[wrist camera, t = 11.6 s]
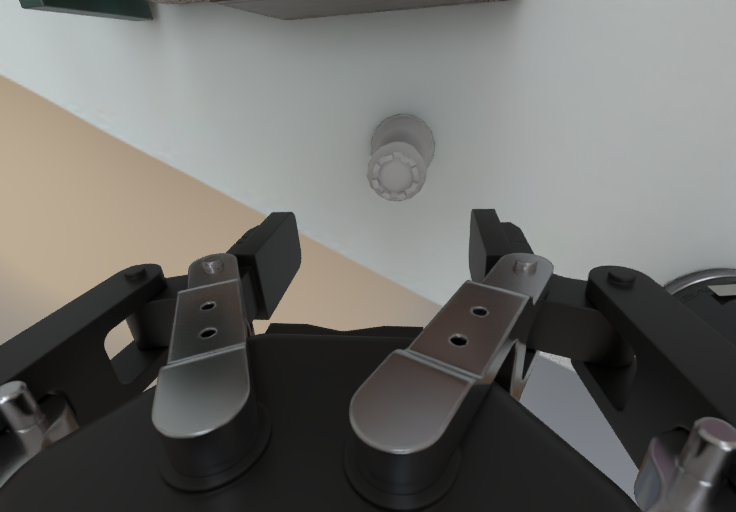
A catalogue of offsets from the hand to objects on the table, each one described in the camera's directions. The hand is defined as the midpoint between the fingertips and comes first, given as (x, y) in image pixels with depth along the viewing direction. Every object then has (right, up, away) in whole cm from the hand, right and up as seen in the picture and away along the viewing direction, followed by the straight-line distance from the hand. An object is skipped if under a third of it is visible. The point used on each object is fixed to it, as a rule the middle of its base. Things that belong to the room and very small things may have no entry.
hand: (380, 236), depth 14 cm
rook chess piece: (+2, +7, +14) cm, 16 cm away
